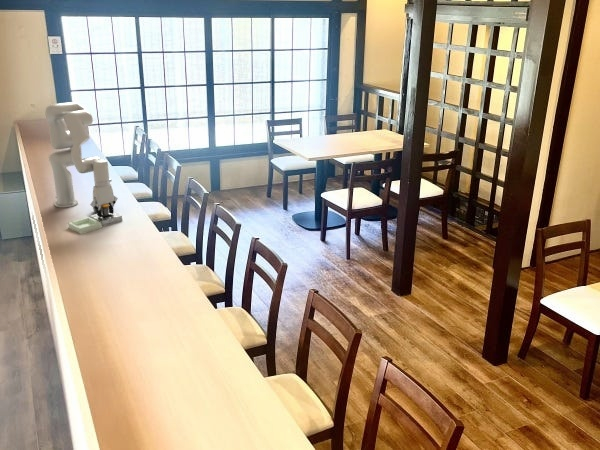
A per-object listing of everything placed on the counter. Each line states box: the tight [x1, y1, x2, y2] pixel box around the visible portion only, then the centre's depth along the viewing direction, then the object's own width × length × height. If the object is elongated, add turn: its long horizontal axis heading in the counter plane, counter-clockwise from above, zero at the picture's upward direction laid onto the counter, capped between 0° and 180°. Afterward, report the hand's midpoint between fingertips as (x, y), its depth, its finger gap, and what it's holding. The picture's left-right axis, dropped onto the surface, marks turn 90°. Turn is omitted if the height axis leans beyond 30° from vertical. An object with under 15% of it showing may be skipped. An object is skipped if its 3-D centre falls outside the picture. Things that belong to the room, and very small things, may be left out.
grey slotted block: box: [89, 211, 123, 228], centre depth 304 cm, size 12×12×3 cm
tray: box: [67, 216, 103, 235], centre depth 294 cm, size 12×12×3 cm
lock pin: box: [101, 203, 110, 218], centre depth 302 cm, size 5×5×10 cm
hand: (105, 214), depth 303 cm, fingers open, 6 cm apart
